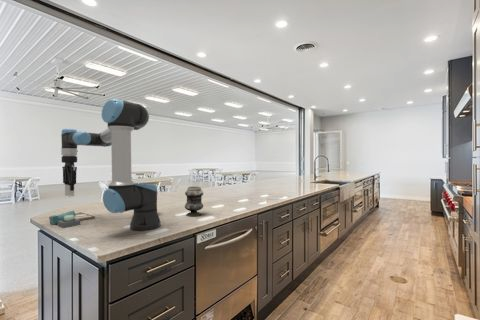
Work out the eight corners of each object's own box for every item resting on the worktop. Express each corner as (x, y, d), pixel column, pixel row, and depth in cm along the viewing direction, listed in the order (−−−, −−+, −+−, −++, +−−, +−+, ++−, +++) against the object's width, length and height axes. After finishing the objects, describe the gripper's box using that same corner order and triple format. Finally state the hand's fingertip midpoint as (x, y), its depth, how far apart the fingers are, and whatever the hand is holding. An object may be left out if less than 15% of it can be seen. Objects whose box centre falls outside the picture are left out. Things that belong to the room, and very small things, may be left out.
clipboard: (95, 218, 149) (95, 215, 149) (65, 223, 136) (65, 220, 136) (80, 213, 161) (80, 211, 161) (51, 218, 148) (51, 216, 148)
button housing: (80, 224, 134) (80, 220, 134) (63, 227, 128) (63, 223, 128) (74, 222, 139) (74, 218, 139) (57, 225, 132) (57, 220, 132)
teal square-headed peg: (74, 210, 143) (52, 217, 133) (76, 217, 143) (54, 224, 133) (71, 210, 145) (48, 216, 135) (72, 217, 145) (50, 224, 135)
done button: (75, 220, 134) (75, 215, 134) (66, 222, 130) (66, 217, 130) (71, 219, 136) (71, 214, 136) (62, 221, 133) (62, 215, 133)
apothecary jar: (201, 217, 153) (201, 188, 153) (182, 216, 153) (182, 188, 153) (204, 212, 165) (204, 186, 165) (187, 212, 165) (187, 186, 165)
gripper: (83, 155, 140) (83, 196, 141) (70, 155, 150) (70, 193, 150) (68, 155, 134) (68, 198, 134) (56, 155, 144) (56, 195, 144)
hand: (69, 195), depth 142 cm, fingers open, 4 cm apart
